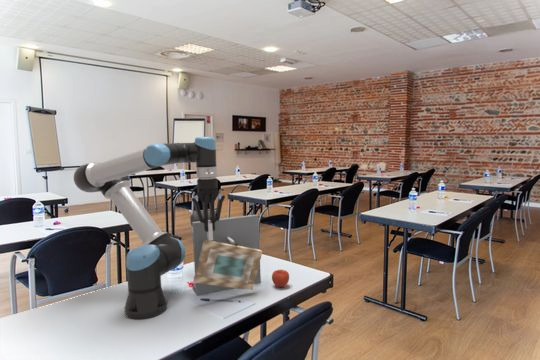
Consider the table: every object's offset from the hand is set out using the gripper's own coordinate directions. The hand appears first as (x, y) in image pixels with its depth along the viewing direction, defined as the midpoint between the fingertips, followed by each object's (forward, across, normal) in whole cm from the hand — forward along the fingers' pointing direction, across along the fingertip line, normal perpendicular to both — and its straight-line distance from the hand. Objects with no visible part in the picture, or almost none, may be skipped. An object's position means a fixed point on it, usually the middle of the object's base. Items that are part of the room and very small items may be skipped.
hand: (210, 239), depth 140 cm
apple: (+25, +30, +1) cm, 39 cm away
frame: (+19, +4, 0) cm, 20 cm away
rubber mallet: (+25, +6, +31) cm, 40 cm away
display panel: (+25, +10, +10) cm, 29 cm away
